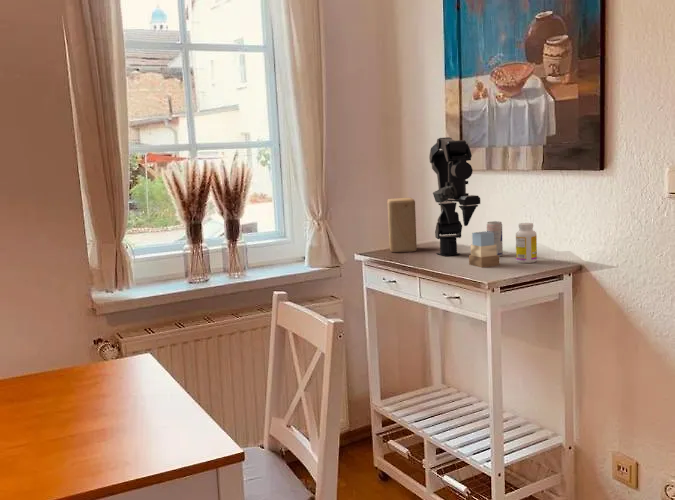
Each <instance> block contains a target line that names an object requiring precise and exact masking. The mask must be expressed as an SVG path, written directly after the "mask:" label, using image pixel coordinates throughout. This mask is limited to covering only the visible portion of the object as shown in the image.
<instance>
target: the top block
mask: <svg viewBox="0 0 675 500" xmlns="http://www.w3.org/2000/svg"><path fill="white" fill-rule="evenodd" d="M471 234H472V235H471V237H472V238H471V239H472V244H473V245H476V246H489V245H494V233H492V232H487V230H486V231H485V230H483V231H478V232H472V233H471ZM472 244H471V245H472Z"/></svg>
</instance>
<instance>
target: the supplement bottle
mask: <svg viewBox="0 0 675 500" xmlns="http://www.w3.org/2000/svg"><path fill="white" fill-rule="evenodd" d="M533 228H534V222H519V223H518V229H519V230H518V231H516V233H515V254H516V255H515V256H516V258H515V260H516V262H517V263H520V264H530V263H536V262H537V260H538V254H537V253H538V249H537V248H538V247H537V244H538V243H537V237H538V236H537V231H535V230H534V229H533Z"/></svg>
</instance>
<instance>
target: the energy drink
mask: <svg viewBox="0 0 675 500" xmlns="http://www.w3.org/2000/svg"><path fill="white" fill-rule="evenodd" d="M486 232H492V233H494V244H495V245H496V248H497V255H499V258H500V257H502V256H503V255H504V254H503V252H504V251H503V249H504V248H503V245H504V244H503V224H502V221H496V220H494V221H488V222H486Z"/></svg>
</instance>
